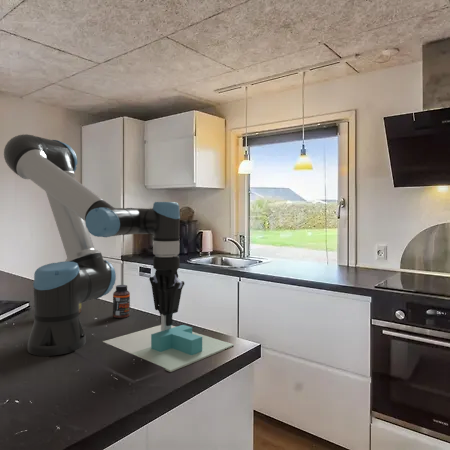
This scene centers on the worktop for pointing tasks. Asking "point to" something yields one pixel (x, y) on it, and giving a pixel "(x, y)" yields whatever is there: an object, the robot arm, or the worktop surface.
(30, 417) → the worktop surface
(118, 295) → the supplement bottle
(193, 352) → the t block
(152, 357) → the board
